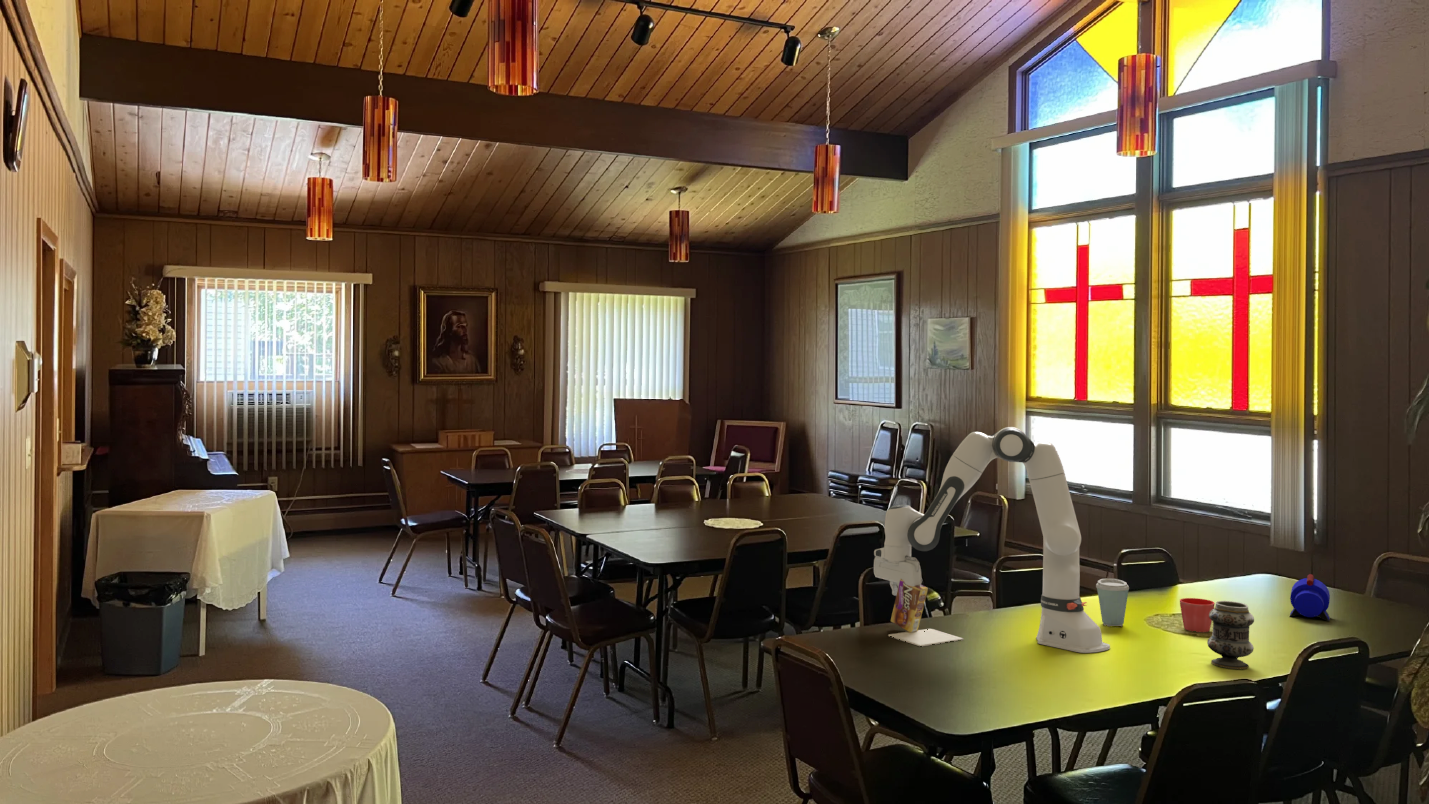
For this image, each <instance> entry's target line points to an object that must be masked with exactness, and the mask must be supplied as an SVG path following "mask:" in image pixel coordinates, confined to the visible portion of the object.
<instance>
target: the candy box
mask: <svg viewBox="0 0 1429 804" xmlns="http://www.w3.org/2000/svg"><path fill="white" fill-rule="evenodd" d="M897 588H898V591H897V595H895V600H894V604H893V609H892V613H891V618H890V622H891V623H893V624H895V625H896V626H898V627H900V628H902V629H903V630H905V631H906V632H915V631H918V630H919V626H920V622H921V619H922V614H923V611H924V607H925V604H926V603H925V602H926V598H927V596H928V595H927V594H928V589H929V588H928V587H926V586H925V585H923V584H921V585H919V586H914V587H912V586H908V585H906V584H905V583H904V581H903V580H902V579H900V582H899V586H897Z"/></svg>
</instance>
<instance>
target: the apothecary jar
mask: <svg viewBox="0 0 1429 804" xmlns="http://www.w3.org/2000/svg"><path fill="white" fill-rule="evenodd" d="M1209 618H1210V619H1211V620H1212V623H1213V624H1212V635H1211V636H1210V637H1209V638H1208V639H1207V647H1208V648H1209V649H1210V650H1211V651H1212V652H1214V653H1216V654H1217V655H1220V656H1221V657H1218V658H1215V659H1212V660H1211V661H1210V663H1211V664H1212V665H1214V666H1216V667H1220V668H1224V669H1228V670H1229V669H1230V670H1231V669H1232V670H1246V669H1248V668H1249V667H1250V665H1249V664H1248V663H1246V662H1245V661H1244V660H1240V659H1239V658H1242V657H1243V658H1244V657H1247V656H1250V655H1251V654H1252V653H1253V652H1254V649H1255V648H1254V645H1253V644H1252V642H1251V641H1250V626H1252V625H1253V624H1254V622H1255V618H1254V615H1253V614H1252V613H1251V612H1250V610H1249V606H1248V604H1246V603H1243V602H1237V601H1233V600H1232V601H1230V600H1218V601H1216V602H1215V605H1214V609H1212V610H1211V611H1210V612H1209Z"/></svg>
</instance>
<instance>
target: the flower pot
mask: <svg viewBox="0 0 1429 804" xmlns="http://www.w3.org/2000/svg"><path fill="white" fill-rule="evenodd" d="M1215 605H1216V602H1215V601H1213V600H1209V599H1205V598H1195V597H1186V598H1180V599H1179V606H1180V612H1181V617H1182V618H1181V619H1182V624H1183V628H1184V630H1185V631H1189V632H1193V631H1196V632H1195V633H1208V632H1210V631H1211V627H1212V623H1213V621H1212V620H1211V619H1210V618H1209V612H1210V611H1211V610H1212V609H1214V608H1215Z"/></svg>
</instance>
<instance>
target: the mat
mask: <svg viewBox="0 0 1429 804" xmlns="http://www.w3.org/2000/svg"><path fill="white" fill-rule="evenodd" d="M927 629H928V630H927ZM924 631H925V632H924ZM887 636H888V637H890V636H892V637H891V638H893V637H894V638H893V639H896V640H899V639H900V640H899V641H902V642H905V641H906V643H909V644H912V645H914V646H918V647H920V646H922V647H928V646H933V645H932V644H935V645H939V644H940V643H941V644H946V643H945V642H948V643H951V642H950V641H954V642H959V641H958V640H961V641H964V638H963V637H960V636H957V635H954V634H949V633H946V632H943V631H940V630H937V629H934V628H925V629H918V631H915V632H908V631H905V632H898V633H890V634H888V635H887ZM941 644H940V645H941Z"/></svg>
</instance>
